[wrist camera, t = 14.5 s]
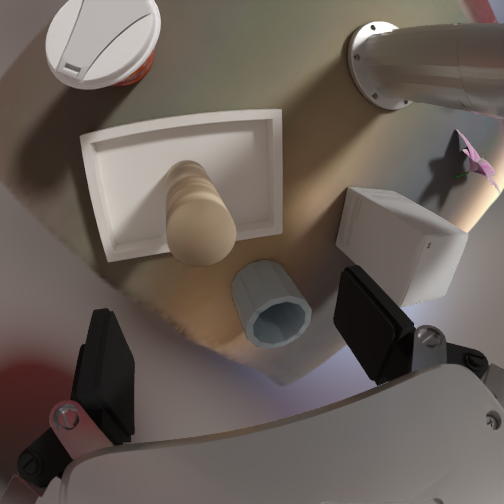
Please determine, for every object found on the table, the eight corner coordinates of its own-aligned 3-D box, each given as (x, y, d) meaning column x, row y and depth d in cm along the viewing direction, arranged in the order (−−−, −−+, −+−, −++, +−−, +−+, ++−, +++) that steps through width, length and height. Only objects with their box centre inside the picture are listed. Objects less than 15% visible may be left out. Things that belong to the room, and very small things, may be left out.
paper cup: (139, 106, 26) (114, 107, 14) (79, 80, 22) (18, 68, 10) (178, 43, 23) (187, -1, 12) (118, 17, 20) (87, -36, 8)
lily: (474, 171, 44) (510, 161, 34) (464, 216, 42) (506, 210, 32) (440, 127, 41) (478, 110, 32) (428, 170, 39) (472, 156, 30)
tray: (271, 108, 29) (281, 109, 27) (273, 223, 36) (282, 233, 34) (87, 132, 25) (79, 135, 23) (111, 249, 32) (107, 262, 30)
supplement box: (333, 246, 41) (397, 310, 28) (346, 185, 36) (426, 233, 24) (380, 244, 43) (444, 299, 31) (394, 190, 39) (471, 234, 26)
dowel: (205, 157, 29) (234, 198, 17) (208, 196, 31) (238, 260, 20) (163, 163, 28) (161, 208, 17) (168, 203, 30) (172, 272, 19)
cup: (288, 255, 39) (314, 289, 32) (286, 302, 43) (308, 339, 36) (228, 266, 37) (244, 304, 31) (233, 313, 41) (247, 354, 35)
